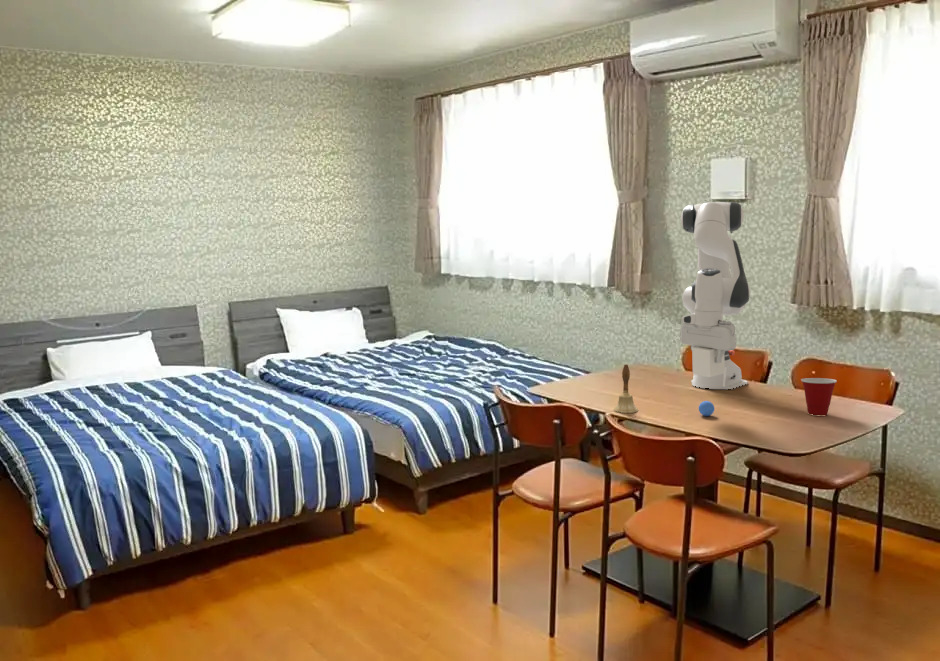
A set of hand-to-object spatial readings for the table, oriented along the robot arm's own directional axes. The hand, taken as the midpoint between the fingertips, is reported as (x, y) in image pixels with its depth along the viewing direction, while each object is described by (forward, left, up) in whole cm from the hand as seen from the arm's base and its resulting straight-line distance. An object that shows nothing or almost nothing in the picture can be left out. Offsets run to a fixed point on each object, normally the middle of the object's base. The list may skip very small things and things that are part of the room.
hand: (707, 360), depth 269 cm
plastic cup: (-30, +21, -19) cm, 41 cm away
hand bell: (+15, -22, -19) cm, 33 cm away
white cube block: (-1, 0, -4) cm, 4 cm away
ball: (0, 0, -16) cm, 16 cm away
